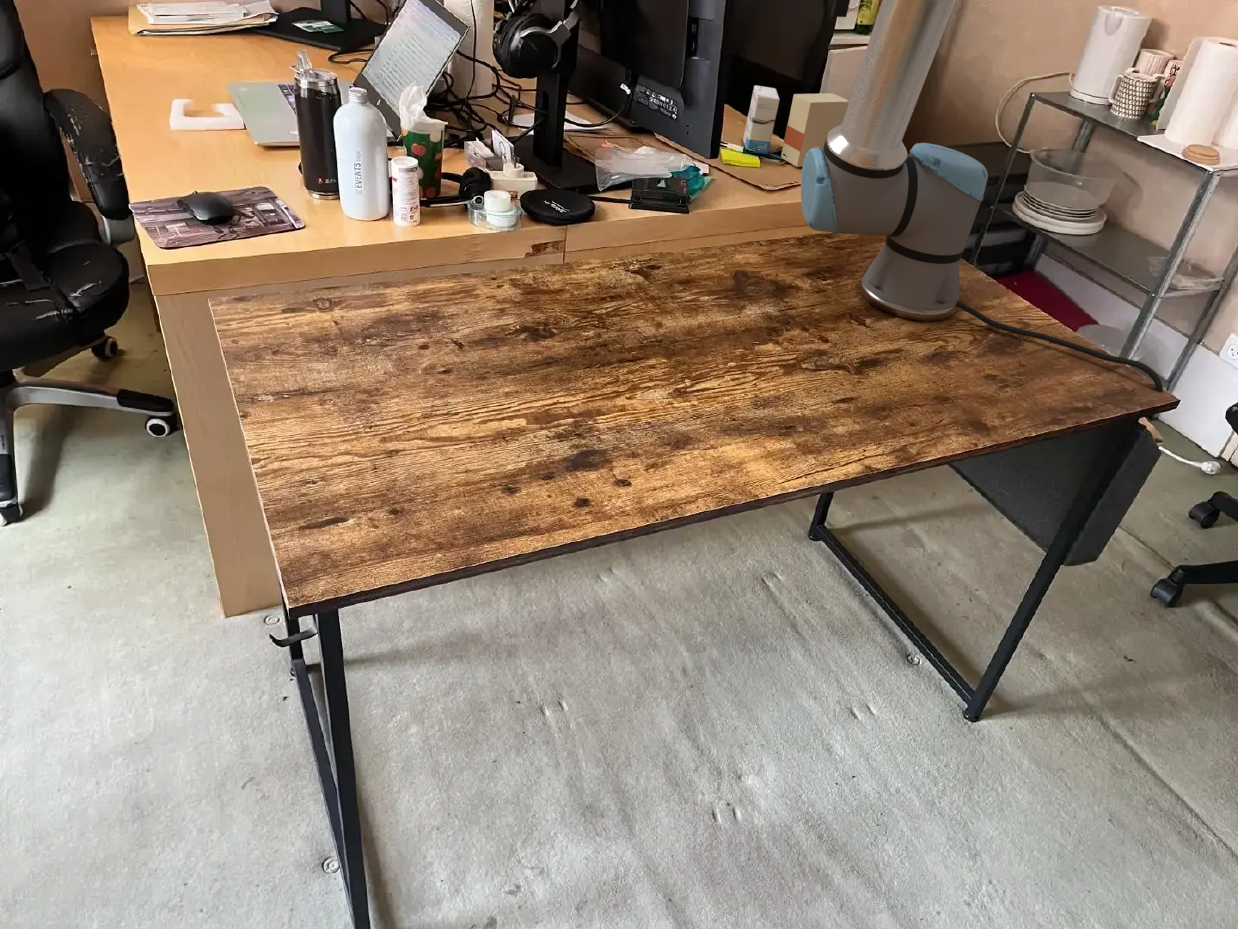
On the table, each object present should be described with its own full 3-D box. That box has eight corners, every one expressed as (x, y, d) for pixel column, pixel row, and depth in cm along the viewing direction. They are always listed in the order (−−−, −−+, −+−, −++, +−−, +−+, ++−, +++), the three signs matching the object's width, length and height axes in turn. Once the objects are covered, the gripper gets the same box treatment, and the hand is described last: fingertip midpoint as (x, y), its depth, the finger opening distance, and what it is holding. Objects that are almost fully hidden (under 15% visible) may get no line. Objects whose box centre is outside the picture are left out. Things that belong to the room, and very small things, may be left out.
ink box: (768, 155, 193) (780, 98, 186) (745, 152, 193) (757, 95, 186) (764, 142, 200) (776, 87, 193) (742, 139, 200) (753, 83, 193)
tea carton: (832, 93, 189) (793, 93, 185) (850, 101, 185) (810, 102, 181) (818, 155, 197) (780, 157, 193) (834, 164, 193) (796, 166, 188)
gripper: (916, -132, 134) (877, 24, 146) (818, -147, 151) (791, -7, 164) (876, -136, 131) (840, 23, 143) (781, -152, 148) (756, -8, 161)
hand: (814, 7), depth 154 cm, fingers open, 13 cm apart
